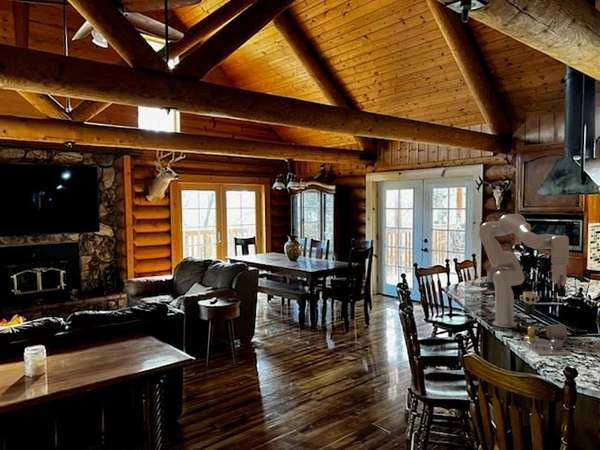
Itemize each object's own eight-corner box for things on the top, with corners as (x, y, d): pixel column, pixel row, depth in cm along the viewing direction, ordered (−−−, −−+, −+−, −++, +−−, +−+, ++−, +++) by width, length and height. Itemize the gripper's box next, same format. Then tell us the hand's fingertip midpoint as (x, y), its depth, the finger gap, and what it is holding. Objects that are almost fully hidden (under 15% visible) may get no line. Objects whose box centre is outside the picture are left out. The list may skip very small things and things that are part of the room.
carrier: (521, 343, 221) (521, 333, 220) (550, 343, 220) (550, 333, 220) (538, 355, 204) (538, 344, 203) (569, 354, 203) (569, 344, 203)
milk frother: (498, 290, 350) (498, 271, 349) (477, 288, 358) (477, 270, 358) (501, 287, 362) (501, 269, 361) (480, 285, 370) (480, 268, 370)
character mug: (520, 314, 277) (520, 293, 276) (518, 311, 284) (518, 291, 283) (540, 314, 274) (540, 294, 273) (537, 312, 280) (537, 291, 280)
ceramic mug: (544, 336, 231) (545, 321, 230) (562, 337, 229) (562, 322, 229) (551, 343, 220) (552, 328, 220) (570, 343, 219) (570, 328, 218)
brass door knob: (521, 338, 229) (521, 325, 229) (535, 337, 229) (535, 325, 229) (527, 342, 222) (527, 329, 222) (541, 342, 222) (541, 328, 222)
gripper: (548, 258, 230) (547, 290, 230) (554, 262, 213) (554, 297, 214) (564, 258, 227) (564, 291, 228) (572, 263, 211) (572, 298, 212)
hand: (559, 294), depth 221 cm, fingers open, 9 cm apart
